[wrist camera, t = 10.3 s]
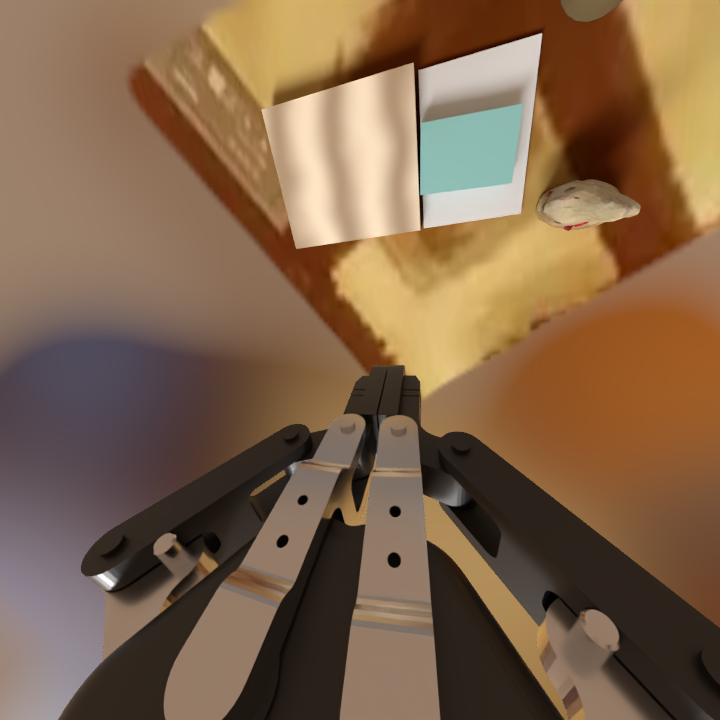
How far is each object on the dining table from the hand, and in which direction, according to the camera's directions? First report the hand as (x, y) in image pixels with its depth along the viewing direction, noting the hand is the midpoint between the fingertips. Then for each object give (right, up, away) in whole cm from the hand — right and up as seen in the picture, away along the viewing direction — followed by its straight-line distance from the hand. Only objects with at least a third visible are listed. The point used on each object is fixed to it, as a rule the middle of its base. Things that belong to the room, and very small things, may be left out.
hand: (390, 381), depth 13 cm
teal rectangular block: (+10, +23, +16) cm, 29 cm away
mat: (+10, +24, +15) cm, 30 cm away
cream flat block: (-3, +23, +19) cm, 30 cm away
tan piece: (+22, +18, +16) cm, 33 cm away
